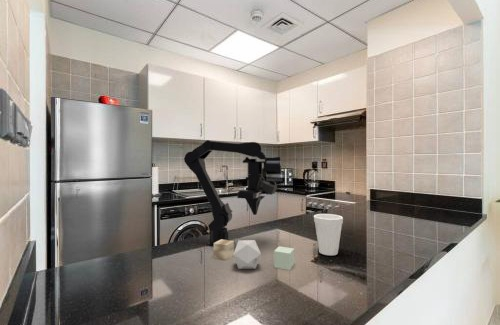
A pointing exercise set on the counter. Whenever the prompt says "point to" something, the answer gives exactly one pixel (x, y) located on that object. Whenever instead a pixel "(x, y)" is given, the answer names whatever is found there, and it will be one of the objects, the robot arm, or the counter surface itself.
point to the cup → (328, 232)
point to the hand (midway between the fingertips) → (254, 214)
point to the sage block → (284, 258)
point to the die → (247, 254)
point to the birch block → (223, 249)
